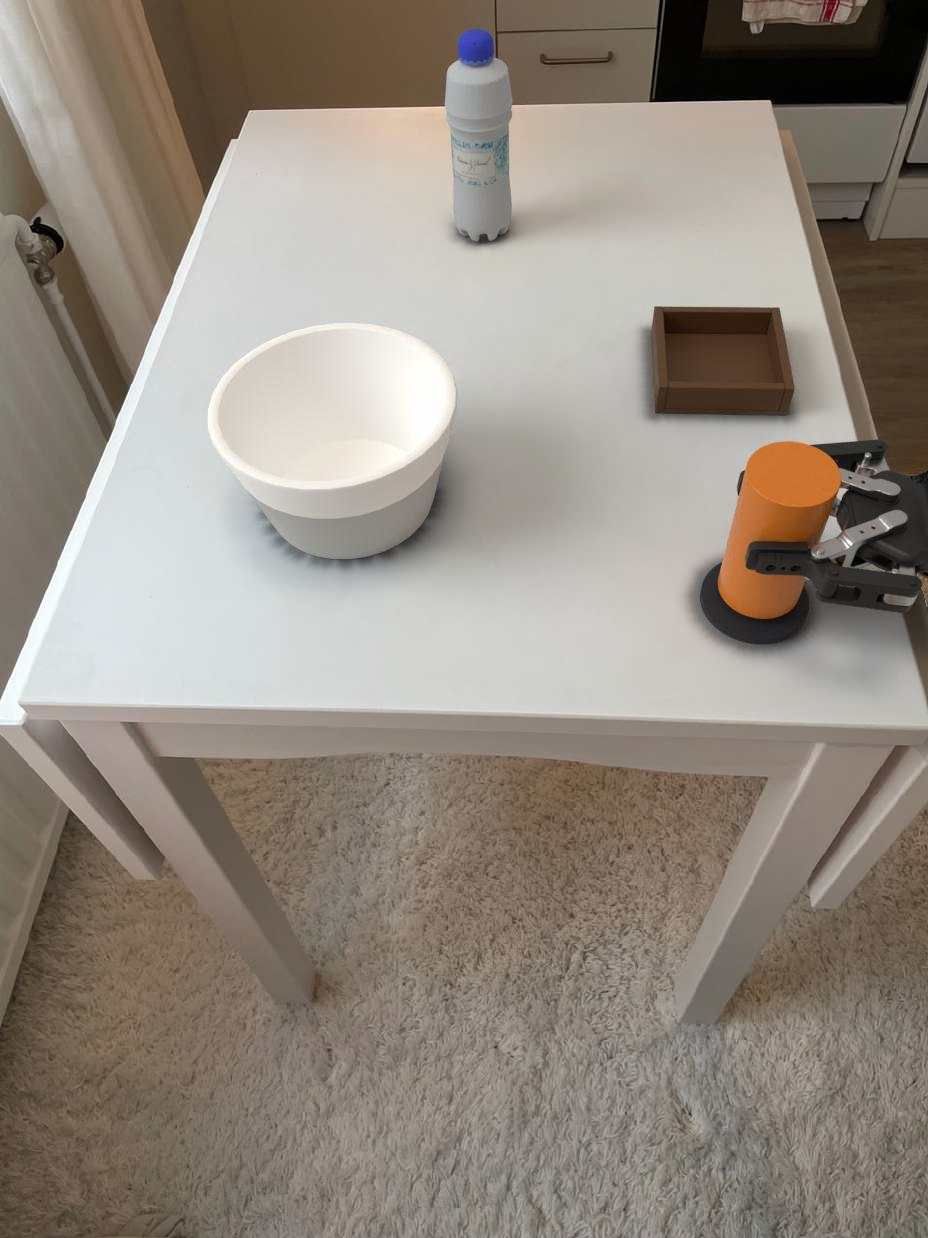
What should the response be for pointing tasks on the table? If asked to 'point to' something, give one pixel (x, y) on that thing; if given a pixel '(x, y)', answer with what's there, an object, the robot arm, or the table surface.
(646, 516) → the table surface
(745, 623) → the coaster
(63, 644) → the table surface
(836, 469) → the orange cylinder
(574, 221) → the table surface
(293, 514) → the bowl
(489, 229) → the bottle
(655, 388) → the tray
